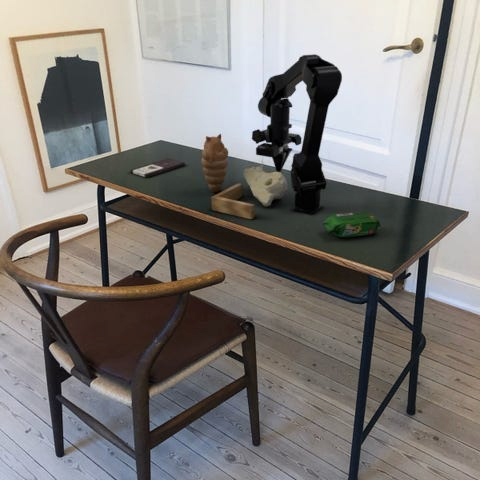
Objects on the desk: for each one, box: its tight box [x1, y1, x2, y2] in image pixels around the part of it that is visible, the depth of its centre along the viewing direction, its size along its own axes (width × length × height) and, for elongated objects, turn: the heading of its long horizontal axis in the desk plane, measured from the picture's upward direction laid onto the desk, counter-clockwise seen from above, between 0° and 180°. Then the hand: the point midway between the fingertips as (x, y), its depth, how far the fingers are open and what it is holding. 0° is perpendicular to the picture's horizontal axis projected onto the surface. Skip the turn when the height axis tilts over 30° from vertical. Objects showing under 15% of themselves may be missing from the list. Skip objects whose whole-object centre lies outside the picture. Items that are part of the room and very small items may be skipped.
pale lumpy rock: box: [242, 165, 289, 208], centre depth 162 cm, size 15×7×15 cm
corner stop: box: [210, 182, 255, 220], centre depth 157 cm, size 14×14×4 cm
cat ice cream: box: [200, 133, 229, 193], centre depth 165 cm, size 9×8×18 cm
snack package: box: [322, 211, 381, 238], centre depth 139 cm, size 7×16×5 cm, turn 103°
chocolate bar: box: [129, 157, 186, 178], centre depth 190 cm, size 9×1×18 cm
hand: (278, 172), depth 169 cm, fingers closed
